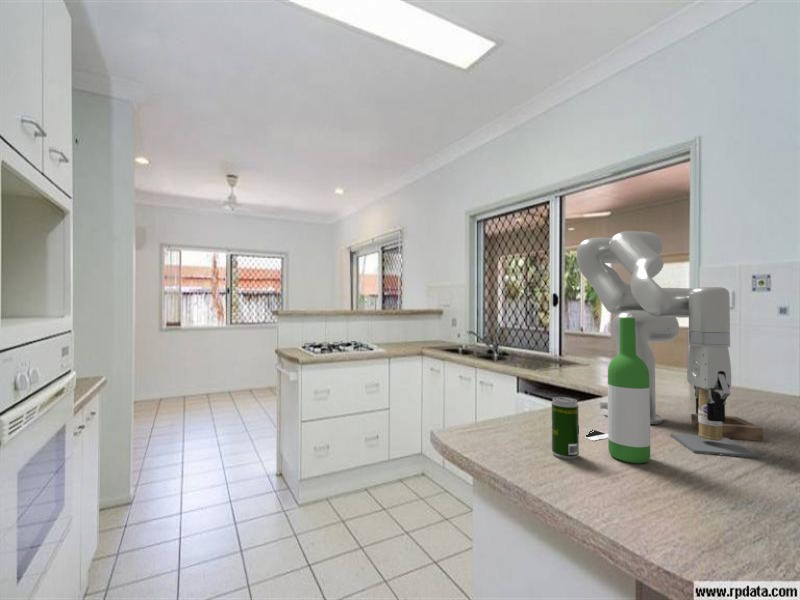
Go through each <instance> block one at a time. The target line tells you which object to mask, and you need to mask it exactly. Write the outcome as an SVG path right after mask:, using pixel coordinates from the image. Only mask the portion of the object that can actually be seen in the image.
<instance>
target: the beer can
mask: <svg viewBox="0 0 800 600" xmlns="http://www.w3.org/2000/svg"><path fill="white" fill-rule="evenodd" d="M551 421H552V426H551V452H552V454H553V456H555V457H557V458H559V459H562V458H563V459H564V460H576V459H577V458H578V456H579V455H580V454H579V452H580V450H579V449H580V448H579V447H580V445H579V444H580V443H579V439H580V438H579V437H580V436H579V425H580V424H579V404H578V399H576V398H571V397H564V396H557V397H552V402H551ZM563 459H562V460H563Z"/></svg>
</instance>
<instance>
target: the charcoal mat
mask: <svg viewBox="0 0 800 600" xmlns="http://www.w3.org/2000/svg"><path fill="white" fill-rule="evenodd" d="M669 436H670V437H672V438H673V439H675V440H676V441H677V442H679V443H680V444H681V445H683V446H684V447H685V448H687V449H688V450H689V449H690V451H691V452H692V453H694V454H701V453H709V454H708V455H713V454H722V455H721V456H725V455H733V456H732V457H736V456H741V457H740V458H748V457H750V459H751V458H752V459H760V455H758V454H757V453H755V452H753V451H752V450H750V449H748V448H747V447H745V446H743V445H741V444H739V443H737V442H736V441H734V440H732V439H731V438H726V437H723V439H722V440H719V441H715V440H709V439H705V438H702V437H700V436H699V435H698V434H683V433H670V435H669Z"/></svg>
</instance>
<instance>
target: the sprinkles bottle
mask: <svg viewBox="0 0 800 600" xmlns="http://www.w3.org/2000/svg"><path fill="white" fill-rule="evenodd" d="M698 389H699V408H698V421H699V429H698V434H697V435H699V436H700V437H702V438H705V439H709V440H715V441H719V440H722V439H723V437H722V422H719V421H709V420H708V419H707V403H710V402H709V396H708V390H704V389H701V388H698ZM712 389H716V390H720V389H719V387H714V388H712ZM716 393H718V392H713V394H714V396H715V394H716Z"/></svg>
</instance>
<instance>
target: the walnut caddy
mask: <svg viewBox="0 0 800 600" xmlns="http://www.w3.org/2000/svg"><path fill="white" fill-rule="evenodd" d="M690 415H691V416H690V417H691V426H693V427H694V428H696V429H698V430H699V421H698V414H696V413H691V414H690ZM763 436H764V434H763V428H762V427H760V426H758V425H756V424H754V423H751V422H749V421H747V420H745V419H743V418H740V417H738V416H731V415H729V416H728V415H725V421H724V422H722V437H726V438H728V439H733V438H734V439H735V440H747V441H763V440H764V439H763Z"/></svg>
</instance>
